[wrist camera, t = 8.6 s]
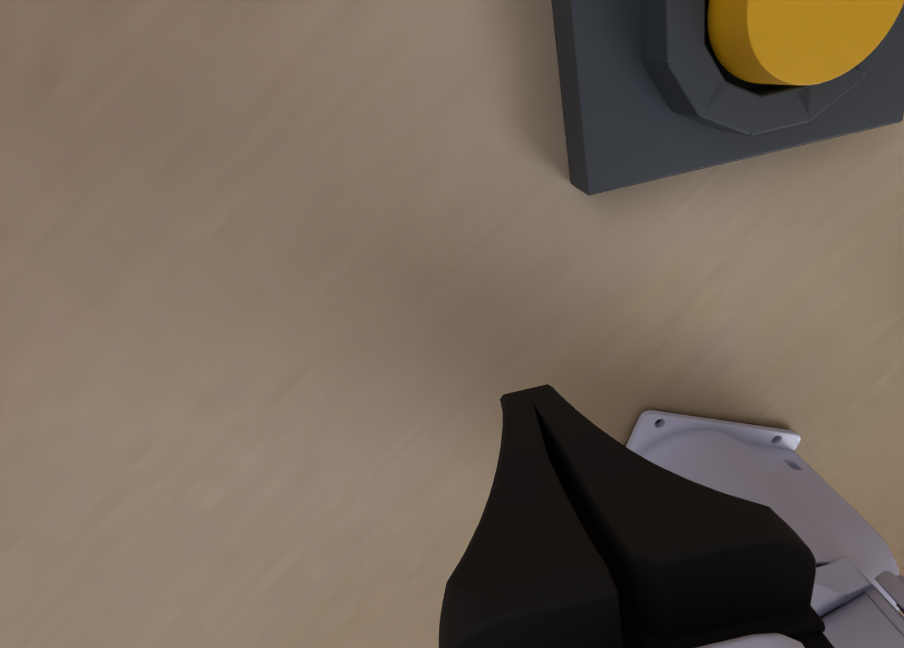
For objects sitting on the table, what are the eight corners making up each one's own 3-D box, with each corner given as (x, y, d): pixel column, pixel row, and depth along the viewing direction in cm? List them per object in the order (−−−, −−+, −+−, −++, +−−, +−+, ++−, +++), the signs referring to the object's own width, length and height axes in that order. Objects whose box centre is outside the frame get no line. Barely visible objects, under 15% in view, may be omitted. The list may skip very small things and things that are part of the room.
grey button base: (900, -209, 17) (1037, -283, 13) (856, 116, 21) (949, 126, 18) (538, -122, 17) (576, -173, 13) (570, 184, 21) (605, 207, 18)
